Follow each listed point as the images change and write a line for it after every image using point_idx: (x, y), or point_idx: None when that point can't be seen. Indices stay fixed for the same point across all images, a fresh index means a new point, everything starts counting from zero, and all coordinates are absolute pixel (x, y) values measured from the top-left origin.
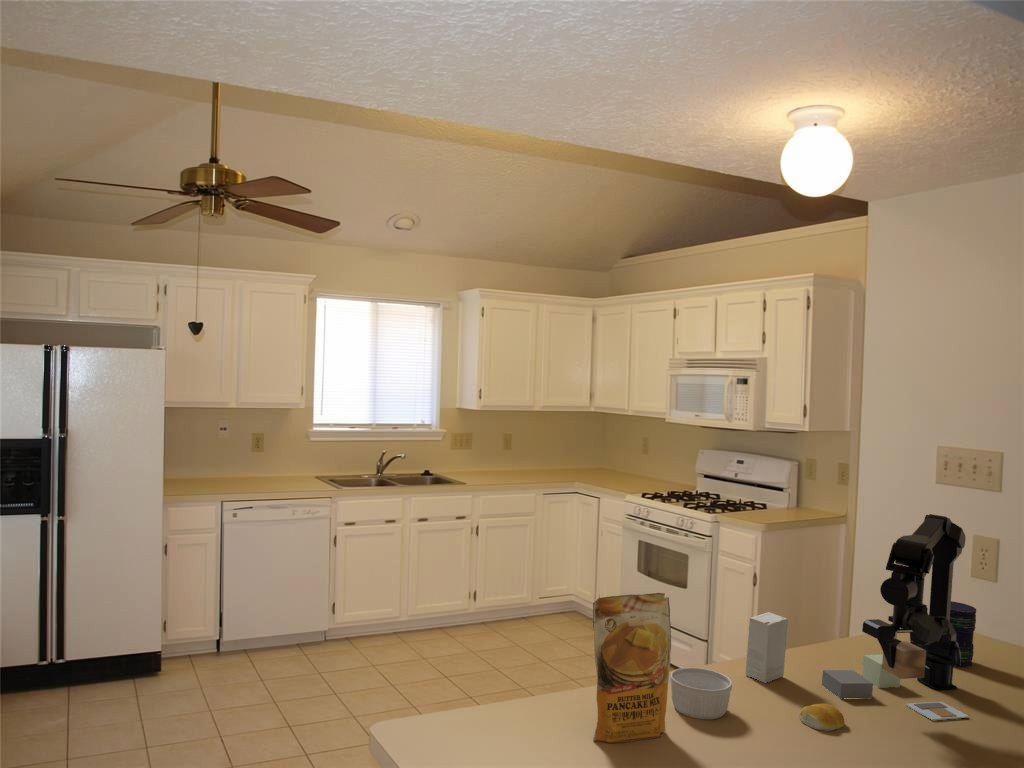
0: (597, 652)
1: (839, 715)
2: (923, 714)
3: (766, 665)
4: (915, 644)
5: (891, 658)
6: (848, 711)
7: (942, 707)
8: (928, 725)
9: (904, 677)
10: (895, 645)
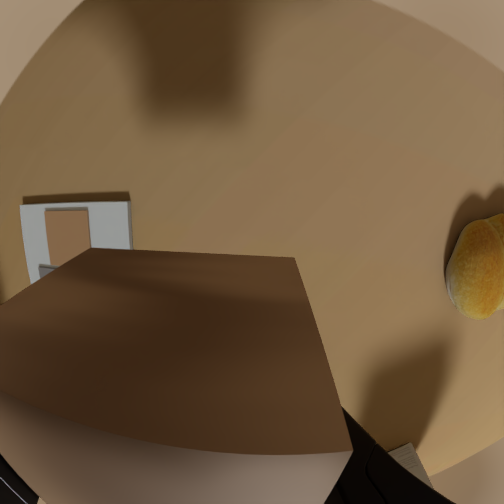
0: None
1: (491, 239)
2: (130, 241)
3: (424, 469)
4: (10, 472)
5: (351, 418)
6: (367, 315)
7: (49, 267)
8: (167, 174)
9: (265, 258)
10: None
